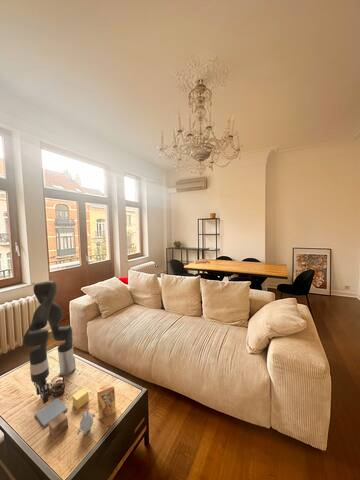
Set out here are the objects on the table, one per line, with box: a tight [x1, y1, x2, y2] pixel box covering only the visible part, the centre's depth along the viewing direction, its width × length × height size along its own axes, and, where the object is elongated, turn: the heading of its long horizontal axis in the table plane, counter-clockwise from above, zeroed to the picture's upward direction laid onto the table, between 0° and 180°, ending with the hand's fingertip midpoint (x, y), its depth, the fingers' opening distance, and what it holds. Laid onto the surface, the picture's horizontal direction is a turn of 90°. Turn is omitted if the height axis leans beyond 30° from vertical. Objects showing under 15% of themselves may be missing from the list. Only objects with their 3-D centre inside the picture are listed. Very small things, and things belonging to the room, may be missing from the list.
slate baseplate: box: [34, 397, 68, 428], centre depth 115 cm, size 12×12×1 cm
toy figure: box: [77, 408, 96, 436], centre depth 104 cm, size 11×6×12 cm, turn 154°
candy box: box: [96, 383, 117, 420], centre depth 113 cm, size 9×4×15 cm, turn 116°
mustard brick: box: [72, 387, 90, 410], centre depth 121 cm, size 7×5×6 cm
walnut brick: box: [48, 412, 69, 440], centre depth 105 cm, size 7×5×6 cm
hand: (42, 398), depth 104 cm, fingers open, 8 cm apart
